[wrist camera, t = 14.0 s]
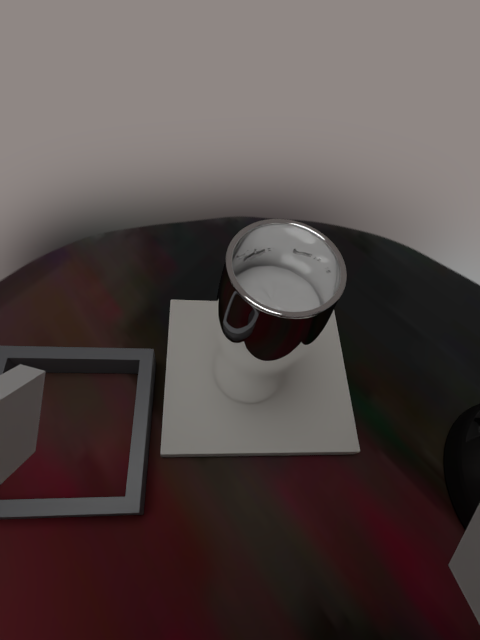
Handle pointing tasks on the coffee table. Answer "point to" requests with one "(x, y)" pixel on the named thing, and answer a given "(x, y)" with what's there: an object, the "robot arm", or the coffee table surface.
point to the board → (256, 418)
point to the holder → (145, 366)
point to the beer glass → (273, 304)
